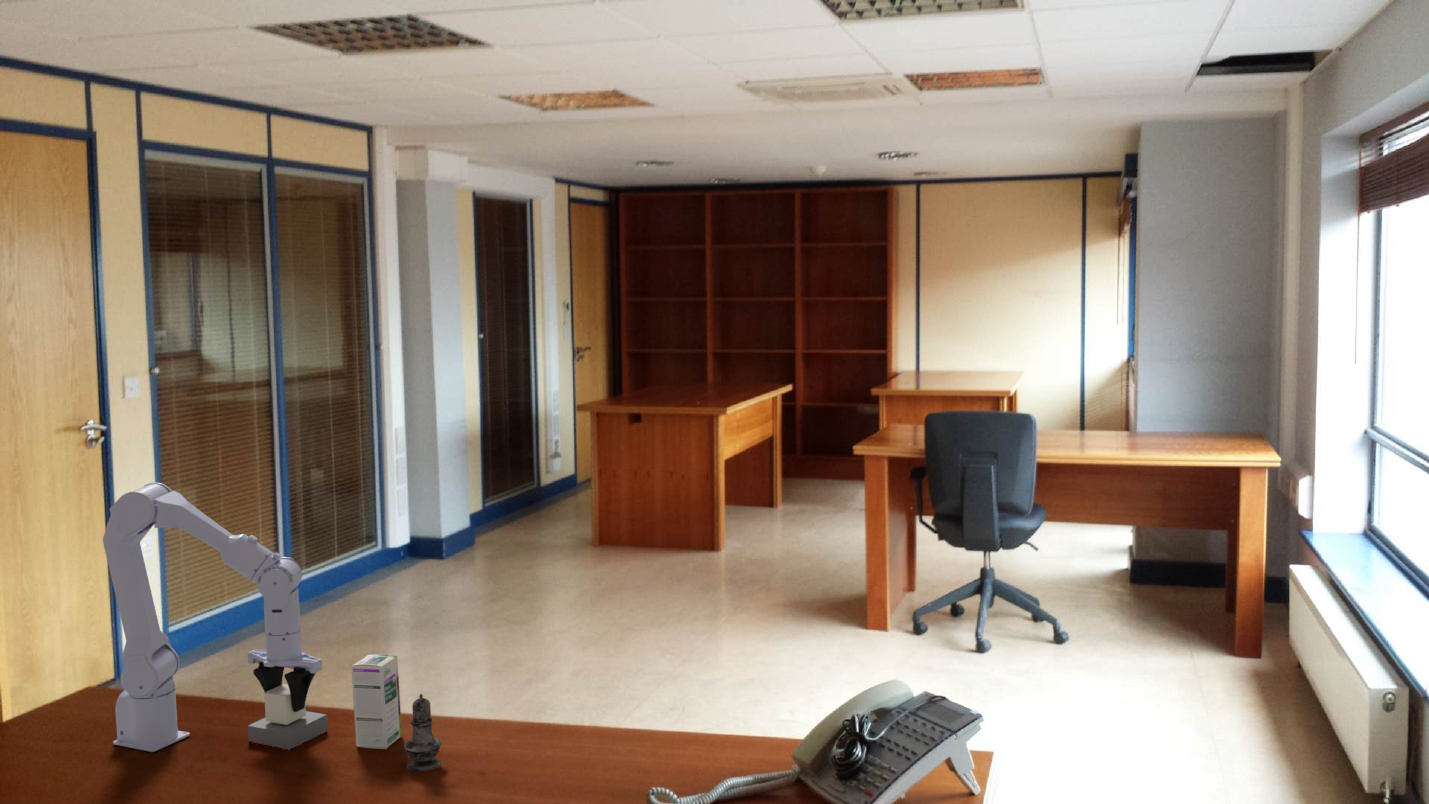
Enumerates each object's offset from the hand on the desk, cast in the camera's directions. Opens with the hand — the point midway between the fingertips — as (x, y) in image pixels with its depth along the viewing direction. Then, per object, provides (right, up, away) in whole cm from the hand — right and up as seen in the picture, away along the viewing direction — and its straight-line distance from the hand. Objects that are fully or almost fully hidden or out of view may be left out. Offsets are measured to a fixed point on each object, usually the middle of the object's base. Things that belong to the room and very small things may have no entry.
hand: (286, 707), depth 203 cm
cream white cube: (0, -2, 0) cm, 2 cm away
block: (0, -5, +1) cm, 5 cm away
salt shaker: (+26, -7, -12) cm, 30 cm away
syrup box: (+16, -6, -2) cm, 17 cm away
